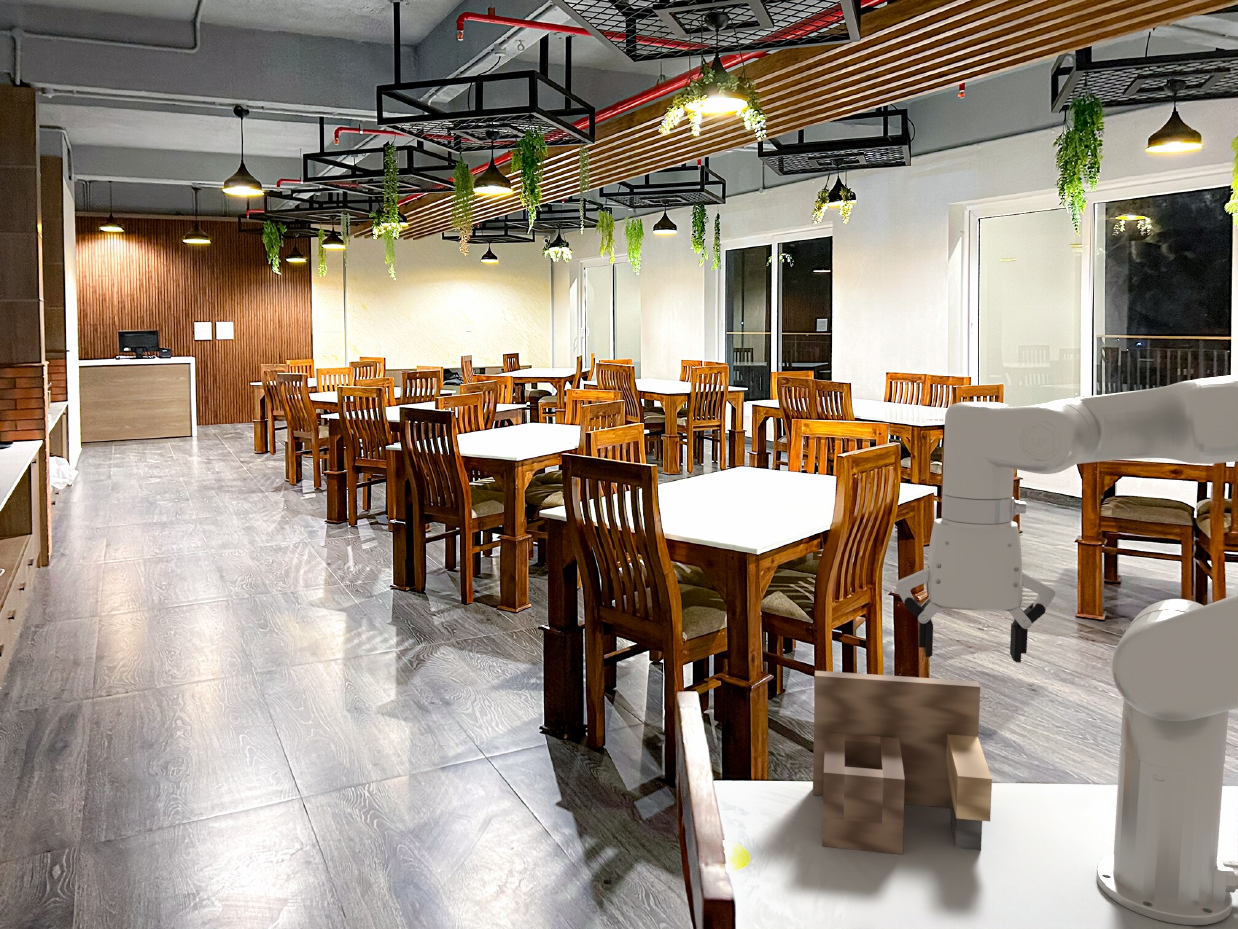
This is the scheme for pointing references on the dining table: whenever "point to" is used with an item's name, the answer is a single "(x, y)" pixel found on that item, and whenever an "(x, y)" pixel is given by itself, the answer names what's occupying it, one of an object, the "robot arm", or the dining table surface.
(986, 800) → the tan grey block
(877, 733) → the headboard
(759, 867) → the dining table surface
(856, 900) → the dining table surface
